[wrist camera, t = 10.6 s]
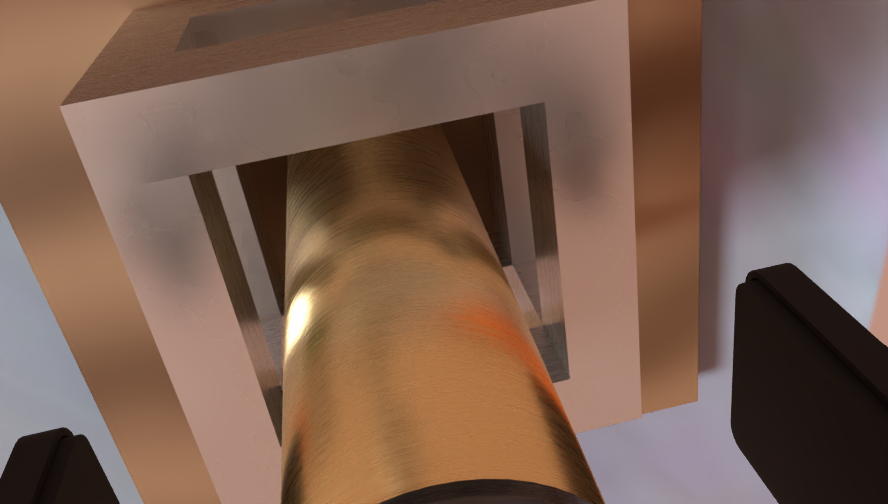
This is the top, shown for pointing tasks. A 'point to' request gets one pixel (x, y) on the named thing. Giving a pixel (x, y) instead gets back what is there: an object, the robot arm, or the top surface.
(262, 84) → the collar cage
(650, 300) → the stand board
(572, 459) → the brass tube
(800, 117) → the top surface
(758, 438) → the robot arm
